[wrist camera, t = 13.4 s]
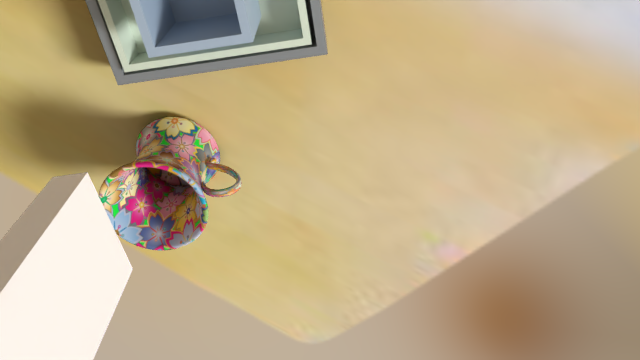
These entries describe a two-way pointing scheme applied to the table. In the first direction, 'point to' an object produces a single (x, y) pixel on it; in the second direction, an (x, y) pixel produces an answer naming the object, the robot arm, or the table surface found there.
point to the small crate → (194, 24)
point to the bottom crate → (217, 64)
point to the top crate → (273, 33)
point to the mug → (165, 185)
